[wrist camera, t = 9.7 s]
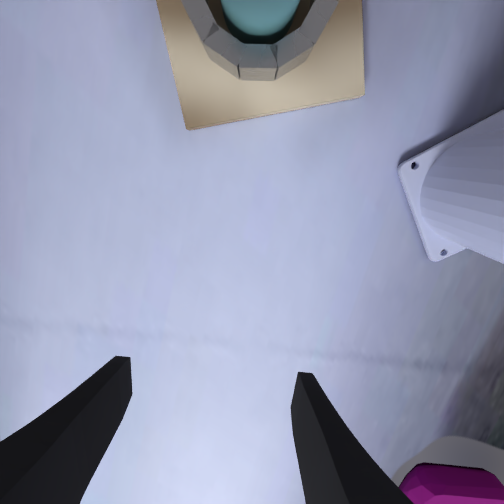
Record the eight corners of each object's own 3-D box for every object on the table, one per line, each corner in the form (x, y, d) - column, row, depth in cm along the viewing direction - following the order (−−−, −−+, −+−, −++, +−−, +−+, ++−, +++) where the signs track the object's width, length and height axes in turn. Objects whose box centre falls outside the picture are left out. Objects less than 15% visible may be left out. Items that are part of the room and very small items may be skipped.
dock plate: (137, -96, 14) (129, -114, 13) (349, -149, 13) (356, -172, 13) (189, 130, 18) (186, 129, 17) (358, 97, 17) (364, 94, 16)
